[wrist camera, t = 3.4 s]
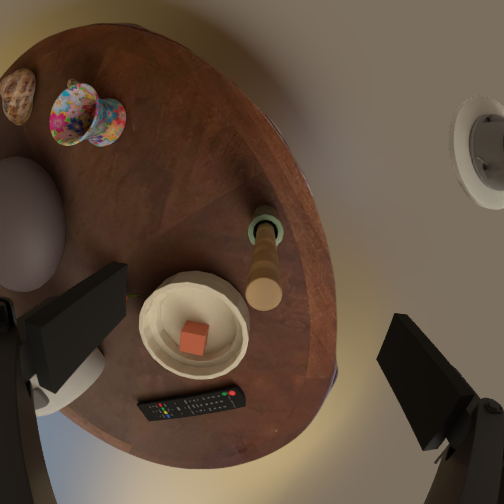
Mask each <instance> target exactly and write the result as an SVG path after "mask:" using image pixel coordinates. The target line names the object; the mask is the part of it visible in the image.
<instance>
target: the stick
mask: <svg viewBox="0 0 504 504" xmlns="http://www.w3.org/2000/svg"><path fill="white" fill-rule="evenodd" d="M245 294H246V299H247V301H248V303H249V304H250V305H251V306H252V307H253V308H255V309H257V310H261V311H266V310H270V309H273V308H274V307H276V306H277V305H278V304H279V302H280V301H281V298H282V288H281V280H280V271H279V263H278V256H277V248H276V240H275V232H274V225H273V222H272V221H269V220H262V221H259V222H258V228H257V233H256V239H255V244H254V249H253V255H252V260H251V265H250V271H249V276H248V281H247V287H246V293H245Z"/></svg>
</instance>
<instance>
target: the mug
mask: <svg viewBox="0 0 504 504" xmlns="http://www.w3.org/2000/svg"><path fill="white" fill-rule="evenodd" d="M71 82H72V83H73V84H74V85H72V84H71ZM67 86H68V88H67V89H65V90H64V91H63V92H62V93H61V94H60V95H59V97H58V98H57V100H56V101H55V103H54V105H53V108H52V110H51V114H50V130H51V134H52V136H53V138H54V139H55V140H56V141H57V142H58V143H60V144H62V145H66V146H70V145H74V144H77V143H79V142H81V141H82V140H84V139H88V140H89V142H90V143H92V144H93V145H95V146H101V147H102V146H107V145H109V144H111V143H113V142H114V141H116V140H117V139H118V138H119V136H120V135H121V133H122V132H123V130H124V127H125V123H126V112H125V109H124V107H123V105H122V104H121V103H120V102H119V101H118V100H116V99H112V98H107V99H103V100H101V99H100V98H99V97H98V95H97V92H96V91H95V89H94V88H93V87H92V86H90V85H88V84H85V83H79V82H78V81H77V80H75V79H70V80H69V81H68V83H67Z"/></svg>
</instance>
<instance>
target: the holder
mask: <svg viewBox="0 0 504 504" xmlns="http://www.w3.org/2000/svg"><path fill="white" fill-rule="evenodd" d="M262 220H269V221H272V222H273V225H274V232H275V240H276V246H277V245H278V244H279V243H280V242H281V241H282V237H283V232H284V230H283V227H282V224H281V220H280V217H279V214H278V211H277V210H276V209H275V208H273V207H272V206H269V205H263V206H260V207H258V208H257V209H256V210H255V212H254V213H253V216H252V218H251V221H250V224H249V228H248V236H249V239H250V242H251V243H252V244H253V245H254V244H255V239H256V233H257V228H258V222H259V221H262Z"/></svg>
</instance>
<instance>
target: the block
mask: <svg viewBox="0 0 504 504" xmlns="http://www.w3.org/2000/svg"><path fill="white" fill-rule="evenodd" d="M208 331H209V325H207V324H202V323H197V322H193V321H188V320H187V321H186V323H185V325H184V327H183V328H182V330H181V338H180V351H183V352H187V353H191V354H196V355H200V356H203V353H204V350H205V347H206V345H207V338H208Z"/></svg>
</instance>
